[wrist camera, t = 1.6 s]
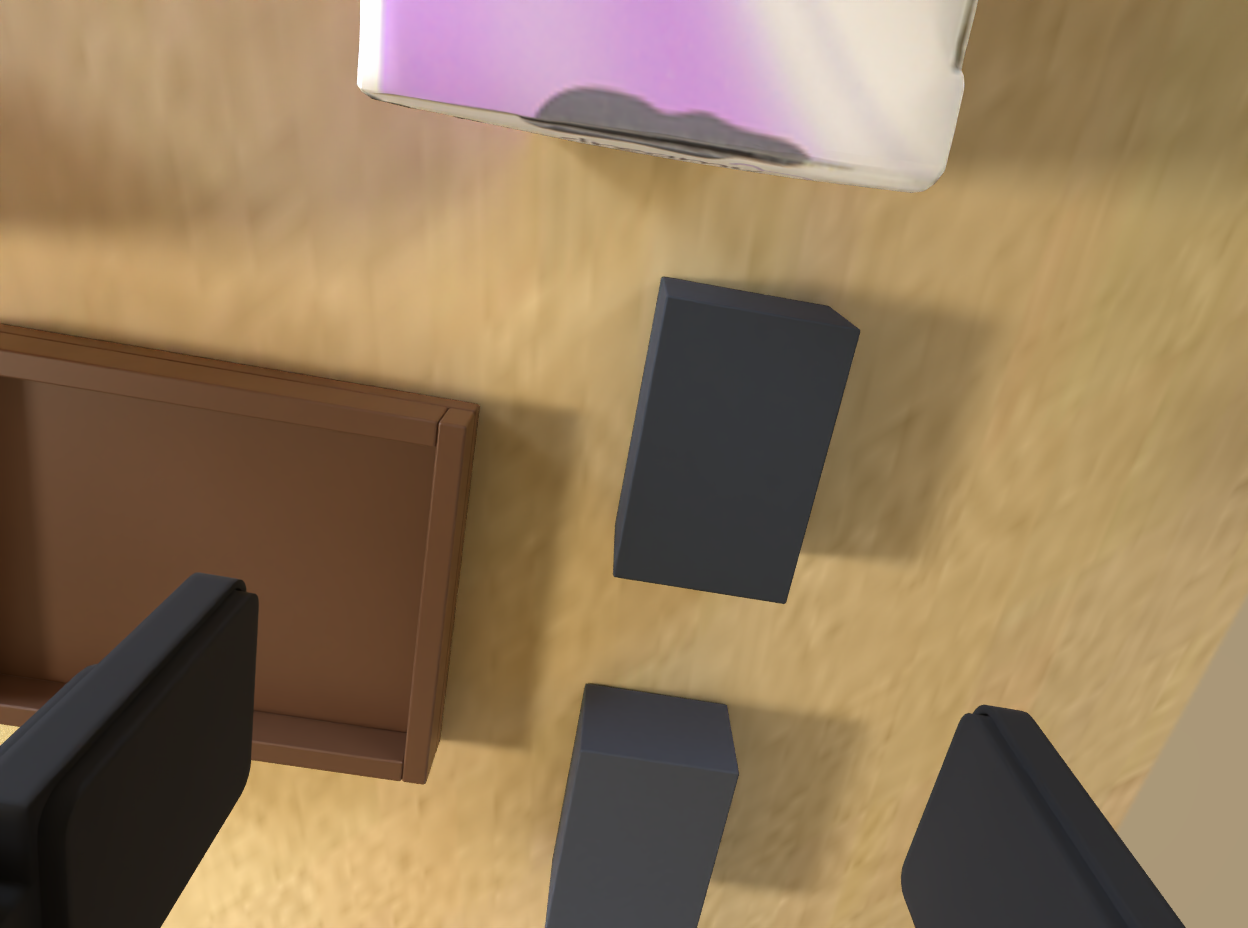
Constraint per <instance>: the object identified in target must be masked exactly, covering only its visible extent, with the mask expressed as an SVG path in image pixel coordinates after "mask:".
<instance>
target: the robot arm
mask: <svg viewBox="0 0 1248 928" xmlns="http://www.w3.org/2000/svg"><path fill="white" fill-rule="evenodd" d="M258 614H259V599H258V596H257V595H256V594H255V593H249V592H247V589H246V585H245V582H244V581H243V580H241V579H236V578H230V577H224V576H218V575H212V574H206V573H200V572H197V573H194V574H192V575H191V576H190V577H188V578H187V579H186V580H185V581H184V582H183V583H182V584H181V585H180V586H179V587H178V588H177V589H176V590H175V591H174V592H173V593H172V594H171V595H170V596H169V597H168V598H166V599H165V600H164V601H163V602H162V603H161V604H160V605H159V606H158V607H157V608H156V609H155V610H154V611H153V612H152V613H151V614H150V615H149V616H148V617H147V618H146V619H144V620H143V621H142V622H141V623H140V624H139V625H138V626H137V627H136V628H135V629H134V630H133V631H132V632H131V633H130V634H129V635H128V636H127V637H126V638H125V639H124V640H122V641H121V642H120V643H119V644H118V645H117V646H116V647H115V648H114V649H113V650H112V651H111V652H110V653H109V654H108V655H107V656H106V657H105V658H104V659H103V660H101V661H100V662H99V663H98V664H95V665H90V666H87V667H86V668H84V669H83V670H82V671H80V672H79V673H77V674H76V675H75V676H74V677H73V678H72V679H71V680H70V681H69V682H68V683H67V684H66V685H65V686H64V687H63V688H61V689H60V690H59V691H58V692H57V693H56V694H55V695H54V696H53V697H52V698H51V699H50V700H49V701H48V702H46V703H45V704H44V705H43V706H42V707H41V708H40V709H39V710H38V711H37V712H36V713H35V714H34V715H33V716H32V717H30V718H29V719H28V720H27V721H26V722H25V723H24V724H23V725H22V726H21V727H20V728H19V729H18V730H17V731H16V732H14V733H13V734H12V735H11V736H10V737H9V738H8V739H7V740H6V741H5V742H4V743H3V744H2V745H1V746H0V928H161V926H162V924H163V923H164V921H165V919H166V918H167V916H168V914H169V913H170V911H171V909H172V908H173V906H174V904H175V903H176V901H177V900H178V898H179V896H180V895H181V893H182V891H183V890H184V888H185V886H186V885H187V883H188V881H189V880H190V878H191V876H192V875H193V873H194V872H195V870H196V868H197V867H198V865H199V863H200V862H201V860H202V858H203V857H204V855H205V853H206V852H207V850H208V848H209V847H210V845H211V843H212V842H213V840H214V839H215V837H216V835H217V834H218V832H219V830H220V829H221V827H222V825H223V824H224V822H225V820H226V819H227V817H228V815H229V814H230V812H231V810H232V809H233V807H234V806H235V804H236V802H237V801H238V799H239V797H240V796H241V794H242V792H243V790H244V787H245V785H246V782H247V779H248V776H249V771H250V766H251V751H252V732H253V712H254V693H255V673H256V654H257V634H258ZM901 885H902V892H903V895H904V899H905V901H906V904H907V907H908V909H909V912H910V914H911V917H912V920H913V922H914V925H915V928H1185V926H1184V925H1183V923H1182V922H1181V921H1180V919H1179V918H1178V916H1177V915H1176V914H1175V912H1174V911H1173V910H1172V908H1171V907H1170V906H1169V904H1168V903H1167V901H1166V900H1165V899H1164V897H1163V896H1162V895H1161V893H1160V892H1159V890H1158V889H1157V888H1156V886H1155V885H1154V884H1153V882H1152V881H1151V879H1150V878H1149V877H1148V875H1147V874H1146V873H1145V871H1144V870H1143V869H1142V867H1141V866H1140V864H1139V863H1138V862H1137V860H1136V859H1135V858H1134V856H1133V855H1132V853H1131V852H1130V851H1129V849H1128V848H1127V847H1126V845H1125V844H1124V842H1123V841H1122V840H1121V838H1120V837H1119V836H1118V834H1117V833H1116V832H1115V830H1114V829H1113V827H1112V826H1111V825H1110V823H1109V822H1108V821H1107V819H1106V818H1105V816H1104V815H1103V814H1102V812H1101V811H1100V810H1099V808H1098V807H1097V805H1096V804H1095V803H1094V801H1093V800H1092V799H1091V797H1090V796H1089V795H1088V793H1087V792H1086V790H1085V789H1084V788H1083V786H1082V785H1081V784H1080V782H1079V781H1078V779H1077V778H1076V777H1075V775H1074V774H1073V773H1072V771H1071V770H1070V769H1069V767H1068V766H1067V764H1066V763H1065V762H1064V760H1063V759H1062V758H1061V756H1060V755H1059V753H1058V752H1057V751H1056V749H1055V748H1054V747H1053V745H1052V744H1051V742H1050V741H1049V740H1048V738H1047V737H1046V736H1045V734H1044V733H1043V732H1042V730H1041V729H1040V727H1039V726H1038V725H1037V723H1036V722H1035V721H1034V719H1033V718H1032V717H1031V716H1030V715H1029V714H1028V713H1026V712H1023V711H1019V710H1013V709H1007V708H1001V707H995V706H989V705H981V706H979V707H978V708H977V709H976V710H975V711H974V712H973V714H971V713H968V714H965V715H964V716H963V717H962V718H961V720H960V722H959V724H958V727H957V729H956V732H955V734H954V737H953V739H952V742H951V744H950V747H949V749H948V752H947V754H946V757H945V760H944V762H943V765H942V767H941V770H940V772H939V775H938V777H937V780H936V782H935V785H934V787H933V790H932V793H931V795H930V798H929V800H928V803H927V805H926V808H925V810H924V813H923V815H922V818H921V820H920V823H919V826H918V828H917V831H916V833H915V836H914V838H913V841H912V843H911V846H910V848H909V851H908V853H907V856H906V859H905V861H904V864H903V867H902V874H901Z"/></svg>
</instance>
